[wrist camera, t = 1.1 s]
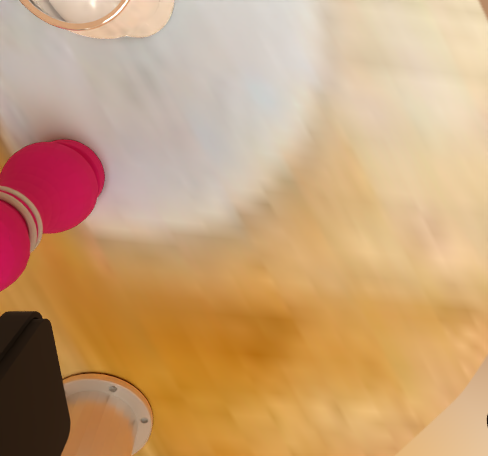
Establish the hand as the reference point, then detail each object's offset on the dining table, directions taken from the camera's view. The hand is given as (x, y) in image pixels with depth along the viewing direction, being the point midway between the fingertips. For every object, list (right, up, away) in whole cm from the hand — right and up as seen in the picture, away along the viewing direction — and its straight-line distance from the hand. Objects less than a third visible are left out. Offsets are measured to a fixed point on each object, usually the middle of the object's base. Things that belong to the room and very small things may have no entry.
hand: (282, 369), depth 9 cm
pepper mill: (-17, +8, +30) cm, 35 cm away
